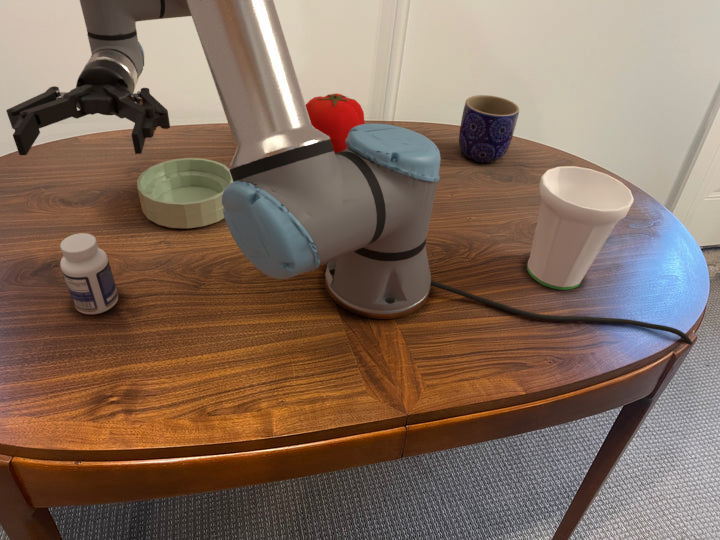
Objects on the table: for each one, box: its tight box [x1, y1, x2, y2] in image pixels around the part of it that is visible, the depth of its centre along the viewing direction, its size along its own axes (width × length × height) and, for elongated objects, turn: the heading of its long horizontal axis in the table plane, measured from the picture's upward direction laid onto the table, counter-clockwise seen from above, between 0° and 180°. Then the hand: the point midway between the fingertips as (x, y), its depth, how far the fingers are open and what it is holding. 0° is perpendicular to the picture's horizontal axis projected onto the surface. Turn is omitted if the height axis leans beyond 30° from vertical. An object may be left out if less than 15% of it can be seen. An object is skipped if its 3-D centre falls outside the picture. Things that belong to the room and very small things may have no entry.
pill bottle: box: [59, 232, 119, 316], centre depth 68 cm, size 5×5×10 cm
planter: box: [458, 94, 520, 164], centre depth 111 cm, size 11×11×11 cm
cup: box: [526, 165, 635, 291], centre depth 79 cm, size 12×12×15 cm
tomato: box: [305, 93, 366, 153], centre depth 107 cm, size 12×13×12 cm
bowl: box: [136, 157, 233, 230], centre depth 89 cm, size 15×15×5 cm
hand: (79, 144), depth 67 cm, fingers open, 13 cm apart
